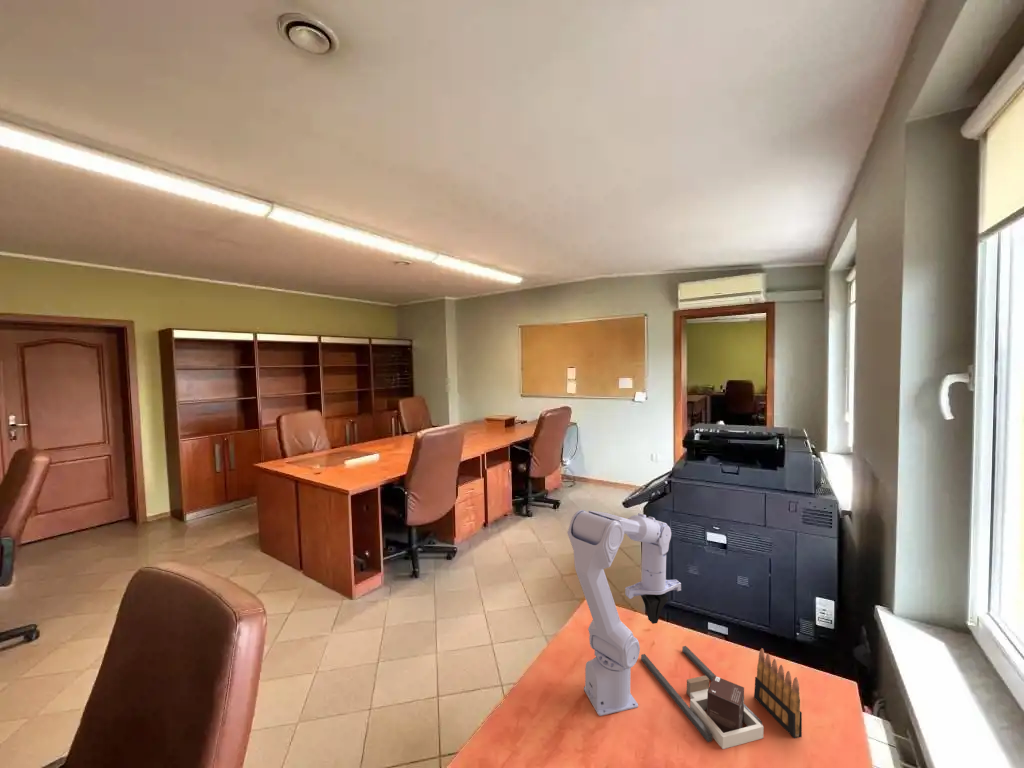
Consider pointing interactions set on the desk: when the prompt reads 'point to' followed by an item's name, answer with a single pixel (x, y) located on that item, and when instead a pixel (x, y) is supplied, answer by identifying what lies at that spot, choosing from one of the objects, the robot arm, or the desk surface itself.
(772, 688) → the ammunition clip
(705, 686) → the frame
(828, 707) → the desk surface
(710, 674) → the track
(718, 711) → the box
